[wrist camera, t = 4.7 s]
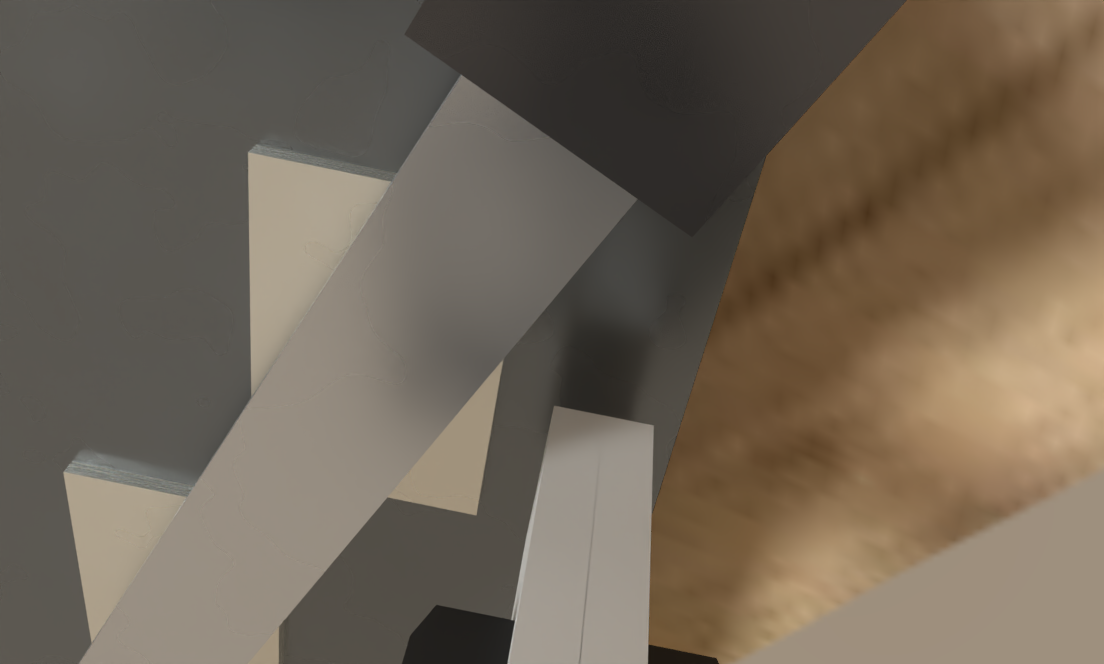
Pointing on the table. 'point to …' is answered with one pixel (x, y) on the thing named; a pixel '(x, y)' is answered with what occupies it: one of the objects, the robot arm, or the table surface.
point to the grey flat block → (268, 308)
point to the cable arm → (471, 272)
